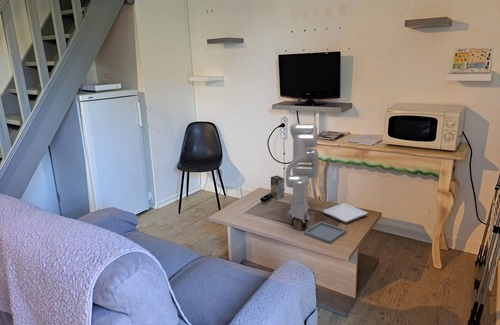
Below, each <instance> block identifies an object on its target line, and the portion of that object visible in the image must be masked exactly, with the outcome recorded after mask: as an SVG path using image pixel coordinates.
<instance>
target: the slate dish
mask: <svg viewBox="0 0 500 325" xmlns="http://www.w3.org/2000/svg"><path fill="white" fill-rule="evenodd" d="M345 234H347V229H345V228H342V227H338V226H335V225H333V224H329V223H326V222H324V221H319V222H317V223H316V224H314V225H312V226H311V227H308V228H306V230H304V231H303V235H305V236H307V237H309V238H312V239H314V240H318V241H321V242H324V243H327V244H329V245H331V244H332V243H334V242H335V241H337V240H339V238H340V237H342V236H345Z"/></svg>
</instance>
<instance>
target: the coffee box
mask: <svg viewBox="0 0 500 325" xmlns="http://www.w3.org/2000/svg"><path fill="white" fill-rule="evenodd" d="M271 194H272V195H273V197H274V198H273V197H272V198H273V199H275V200H277V201H279V199H280V200H283V199H285V178H284V177H282V176H279V175H274V176H270V195H271ZM282 198H283V199H282Z"/></svg>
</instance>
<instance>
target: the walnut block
mask: <svg viewBox="0 0 500 325" xmlns="http://www.w3.org/2000/svg"><path fill="white" fill-rule="evenodd" d="M304 220H305V219H304ZM303 223H304V222H303V220H302V219H298V218H296V219H294V225H293V229H294V230H297V231H301V232H302V230H304V229H303Z"/></svg>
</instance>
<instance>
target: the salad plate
mask: <svg viewBox="0 0 500 325" xmlns="http://www.w3.org/2000/svg"><path fill="white" fill-rule="evenodd" d="M322 213H324V214H325V215H327V216H330V217H331V218H334V219H336V220H339V221H341V222H343V223H349V222H351V221H354V220H357V219H359V218H361V217H364V216H366V215H367V214H368V212H367V211H365V210H364V209H361V208H357V207H356V206H353V205H351V204H348V203H346V202H343V203H340V204H336V205H334V206H331V207H329V208H328V207H327V208H325V209H322Z"/></svg>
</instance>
